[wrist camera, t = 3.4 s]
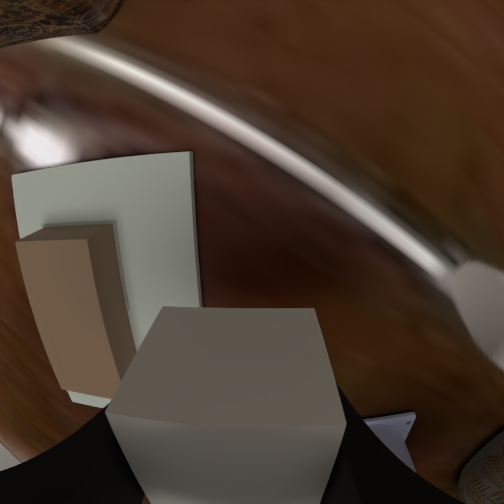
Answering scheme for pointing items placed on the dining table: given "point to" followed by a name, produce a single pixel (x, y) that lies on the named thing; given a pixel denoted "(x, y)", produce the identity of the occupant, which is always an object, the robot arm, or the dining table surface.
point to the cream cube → (230, 407)
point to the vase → (484, 475)
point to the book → (52, 18)
